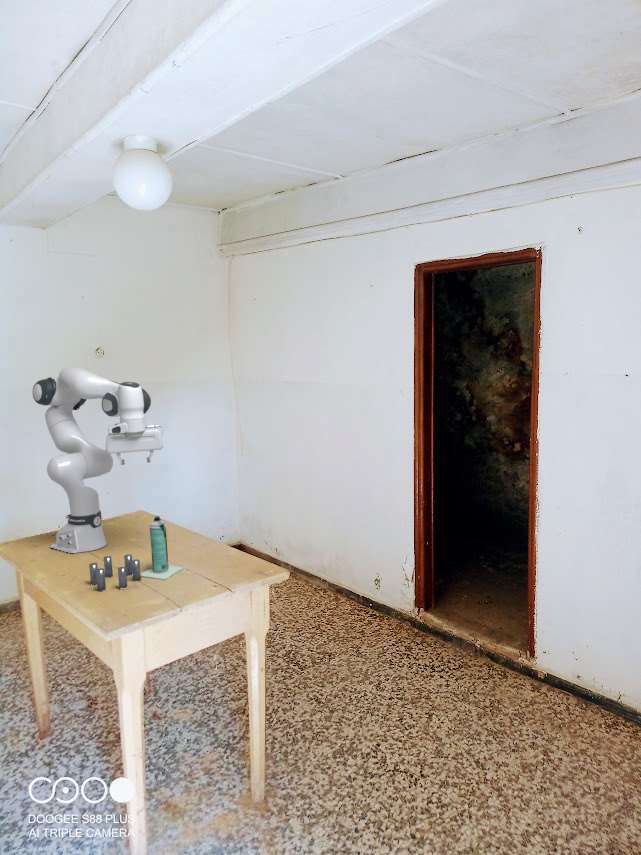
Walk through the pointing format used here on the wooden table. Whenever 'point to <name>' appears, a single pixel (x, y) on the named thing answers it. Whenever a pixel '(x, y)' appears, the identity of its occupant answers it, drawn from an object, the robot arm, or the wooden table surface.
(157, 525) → the spray can
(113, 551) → the wooden table surface
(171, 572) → the mat
